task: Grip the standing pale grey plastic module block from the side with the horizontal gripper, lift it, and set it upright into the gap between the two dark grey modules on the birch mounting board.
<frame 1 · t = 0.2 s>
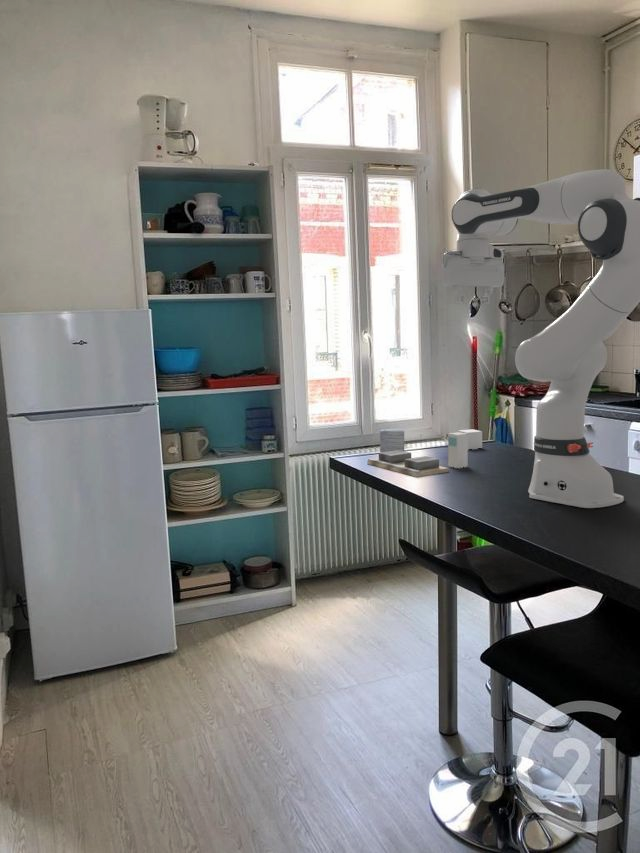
hand: (472, 303, 192), 48 cm above the table, tool pointing down, fingers open, 8 cm apart
medicine box: (392, 456, 228), on the table
mounting board: (406, 467, 209), on the table
module block: (457, 466, 208), on the table
white cube: (469, 448, 240), on the table
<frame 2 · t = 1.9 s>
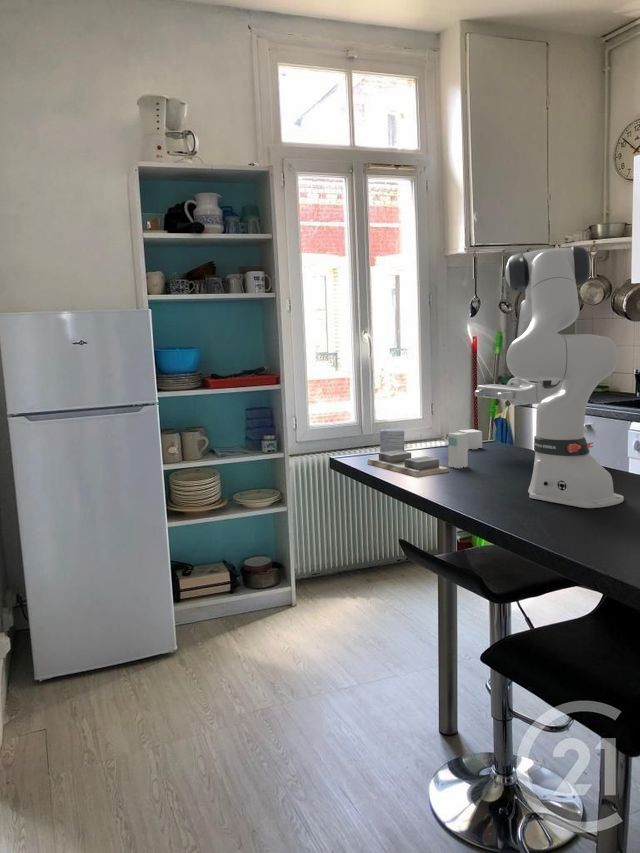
hand: (487, 394, 212), 21 cm above the table, tool horizontal, fingers open, 8 cm apart
nothing on the table moved.
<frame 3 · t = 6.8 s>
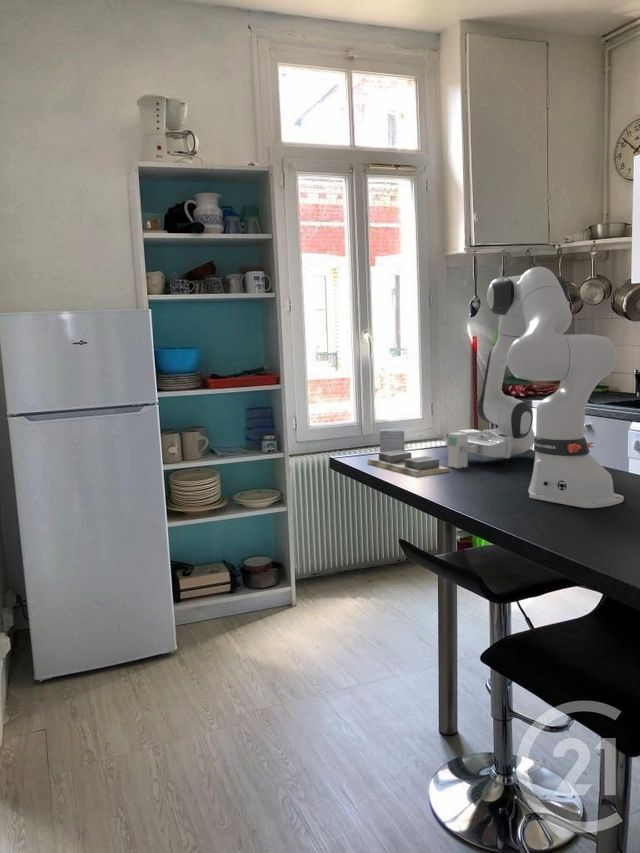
hand: (455, 448, 207), 6 cm above the table, tool horizontal, fingers closed on module block, 4 cm apart
module block: (457, 466, 208), on the table, touching gripper
everything else where it was.
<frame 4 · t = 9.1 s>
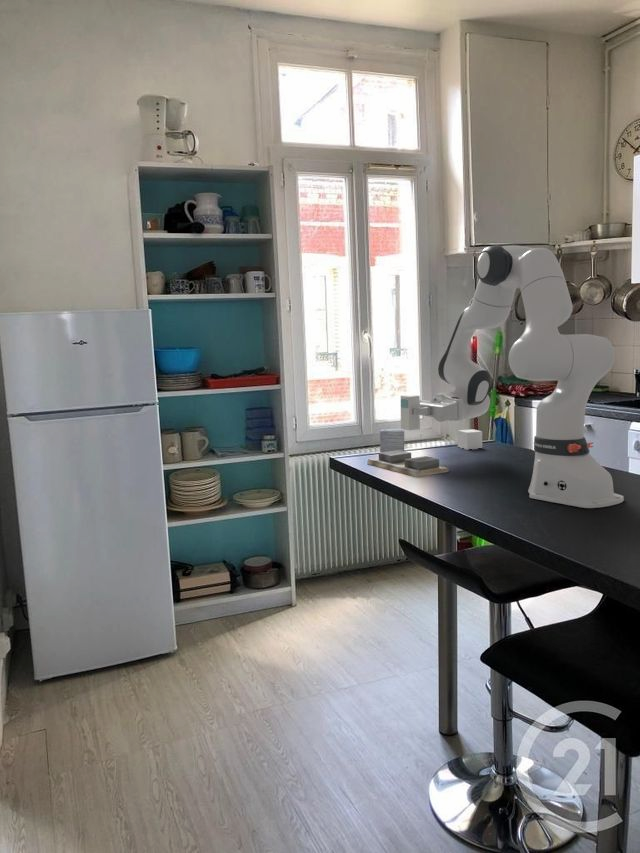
hand: (407, 410, 207), 17 cm above the table, tool horizontal, fingers closed on module block, 4 cm apart
module block: (410, 429, 208), point 12 cm above the table, touching gripper
everything else where it was.
when the fingers open (8 cm above the table, at t = 11.6 s): module block drops 1 cm, resting on mounting board.
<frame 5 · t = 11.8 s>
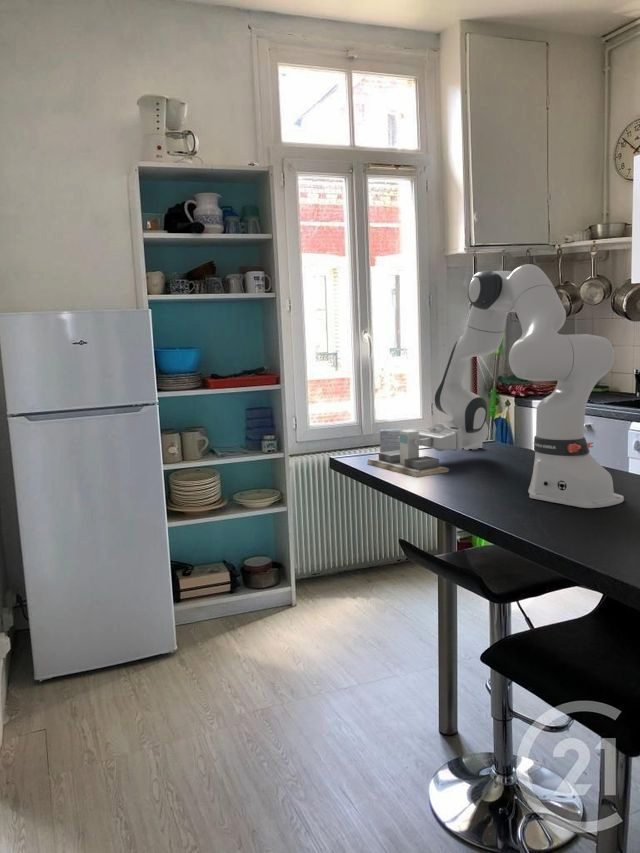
hand: (406, 441, 208), 8 cm above the table, tool horizontal, fingers open, 6 cm apart
module block: (409, 463, 209), point 1 cm above the table, touching mounting board
everything else where it was.
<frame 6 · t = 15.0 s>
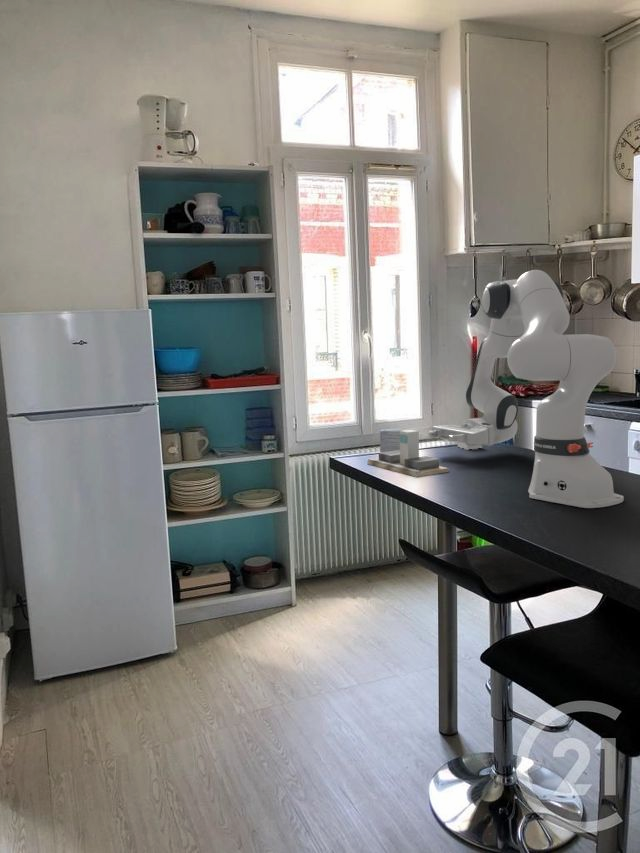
hand: (440, 436, 214), 8 cm above the table, tool horizontal, fingers open, 8 cm apart
nothing on the table moved.
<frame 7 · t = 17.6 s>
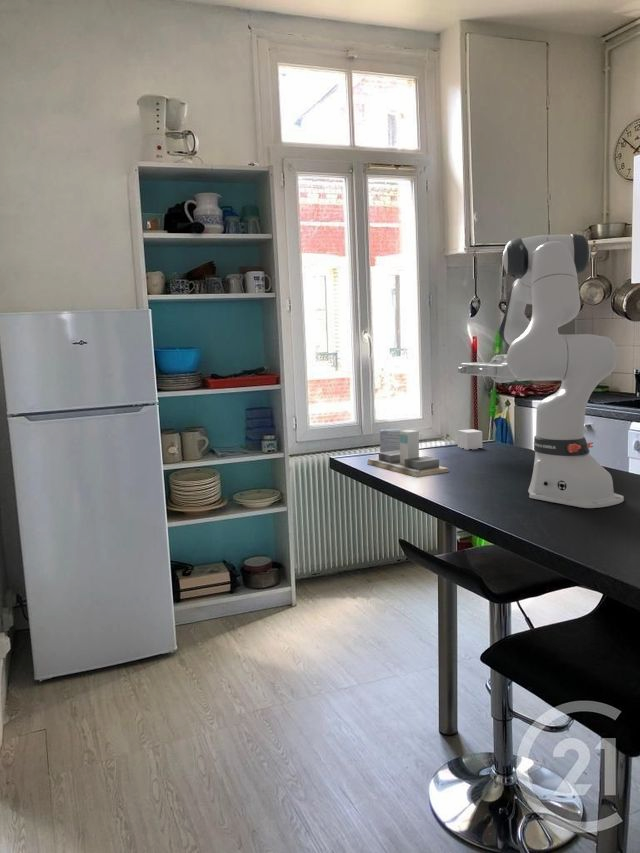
hand: (469, 370, 212), 28 cm above the table, tool horizontal, fingers open, 8 cm apart
nothing on the table moved.
at the end: module block 0.0 cm from the target spot on the mounting board, point 1.0 cm above the mounting board's base; module block tilted 0°; the gripper is holding nothing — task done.
